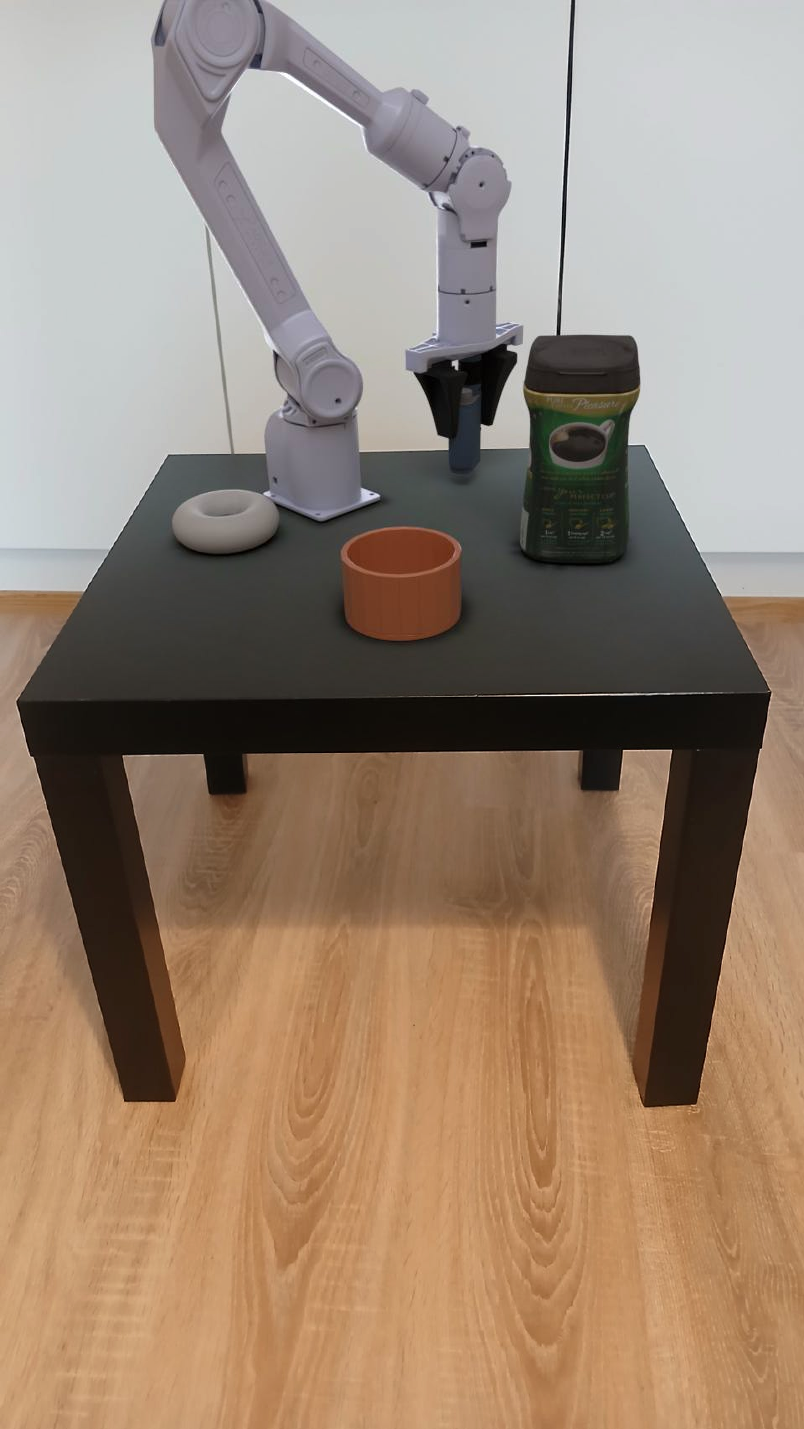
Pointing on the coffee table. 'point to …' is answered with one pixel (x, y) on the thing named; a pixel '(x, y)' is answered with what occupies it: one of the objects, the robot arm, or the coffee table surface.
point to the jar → (402, 583)
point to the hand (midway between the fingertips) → (465, 429)
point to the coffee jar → (578, 447)
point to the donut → (225, 521)
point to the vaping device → (467, 420)
